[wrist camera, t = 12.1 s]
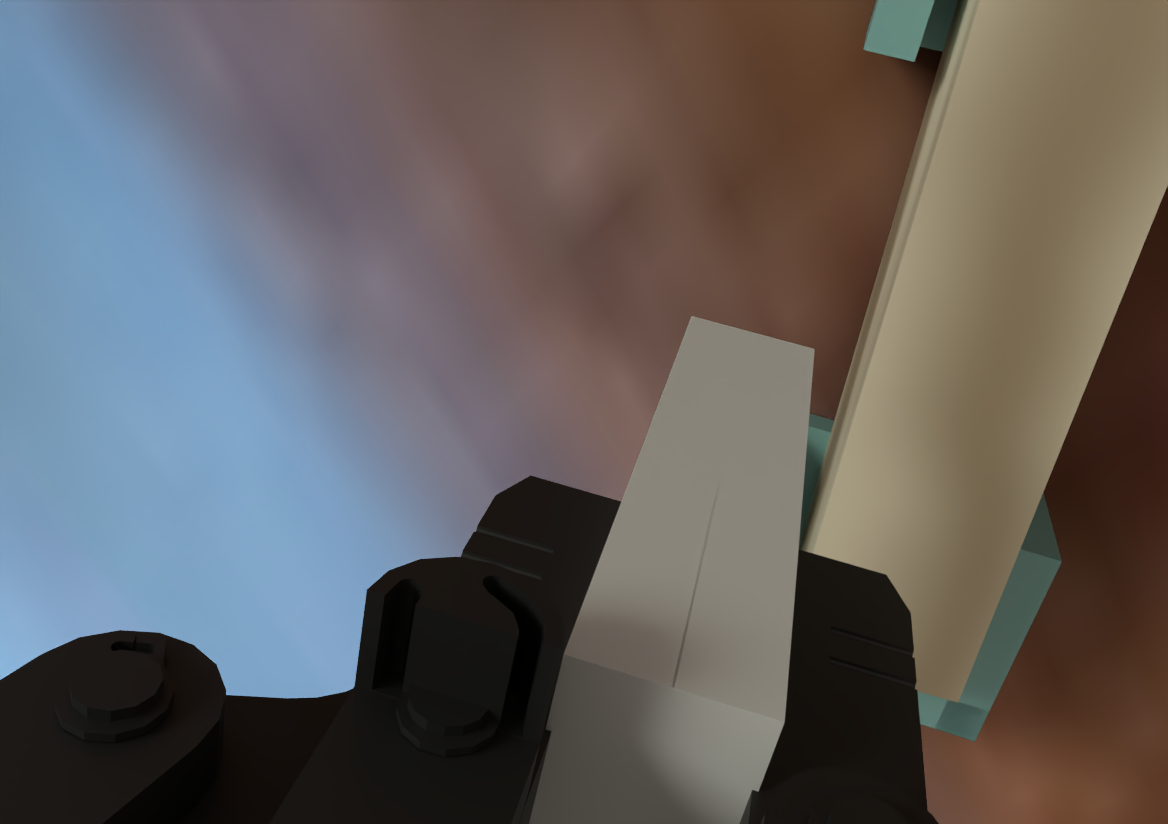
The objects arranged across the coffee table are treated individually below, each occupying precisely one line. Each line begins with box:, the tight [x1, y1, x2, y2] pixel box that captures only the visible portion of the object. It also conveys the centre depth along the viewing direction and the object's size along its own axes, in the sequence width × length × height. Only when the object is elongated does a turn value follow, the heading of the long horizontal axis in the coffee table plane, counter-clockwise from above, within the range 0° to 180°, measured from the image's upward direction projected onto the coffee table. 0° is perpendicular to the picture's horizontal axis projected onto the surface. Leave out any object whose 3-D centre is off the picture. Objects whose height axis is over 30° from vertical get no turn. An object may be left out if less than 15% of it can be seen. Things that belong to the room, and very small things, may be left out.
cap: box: [799, 413, 1062, 742], centre depth 28 cm, size 8×6×4 cm
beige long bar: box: [799, 0, 1168, 703], centre depth 23 cm, size 4×16×5 cm, turn 171°
